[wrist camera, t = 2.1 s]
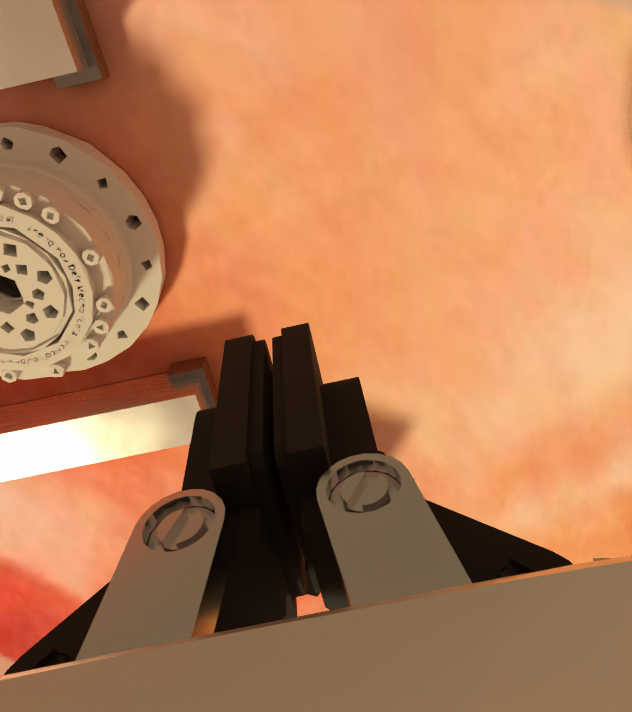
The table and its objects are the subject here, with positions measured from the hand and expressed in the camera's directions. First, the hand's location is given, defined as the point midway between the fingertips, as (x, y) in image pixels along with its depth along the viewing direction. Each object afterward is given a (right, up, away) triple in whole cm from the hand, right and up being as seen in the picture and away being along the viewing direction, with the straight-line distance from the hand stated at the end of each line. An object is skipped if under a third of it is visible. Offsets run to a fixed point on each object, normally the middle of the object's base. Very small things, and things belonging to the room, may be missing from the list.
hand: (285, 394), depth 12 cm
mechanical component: (-10, +5, +13) cm, 17 cm away
